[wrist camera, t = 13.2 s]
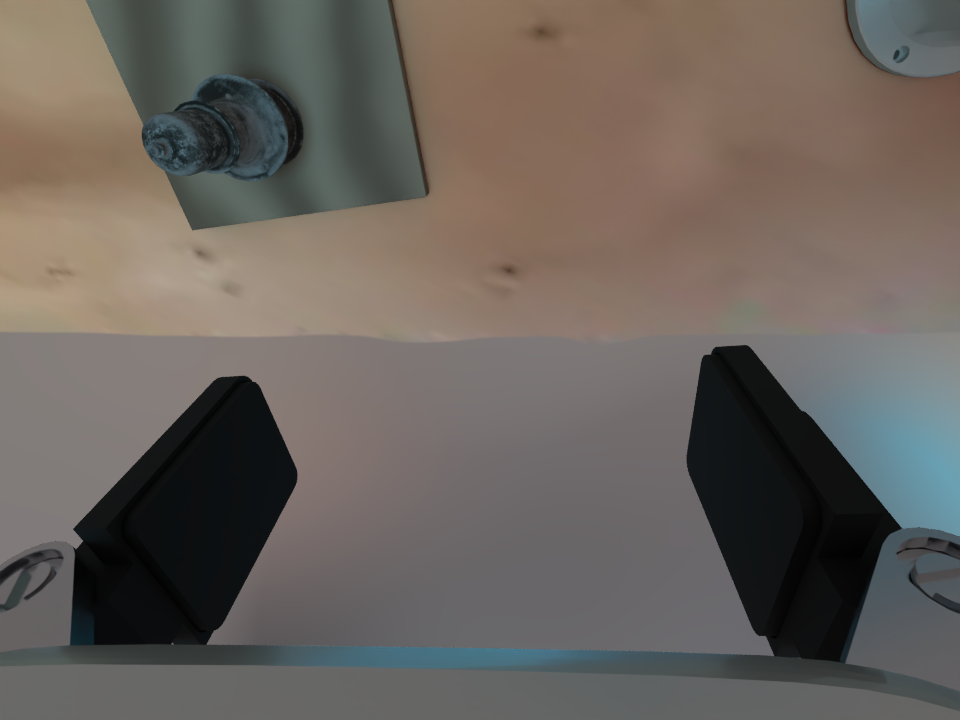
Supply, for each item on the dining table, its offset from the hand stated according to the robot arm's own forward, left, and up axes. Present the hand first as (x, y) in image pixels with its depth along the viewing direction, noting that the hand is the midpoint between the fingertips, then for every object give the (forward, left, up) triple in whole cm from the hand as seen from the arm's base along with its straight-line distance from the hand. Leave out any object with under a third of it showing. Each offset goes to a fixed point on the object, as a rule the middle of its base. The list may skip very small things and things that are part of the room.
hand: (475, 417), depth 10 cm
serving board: (+14, -6, -28) cm, 32 cm away
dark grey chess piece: (+15, -5, -27) cm, 31 cm away
